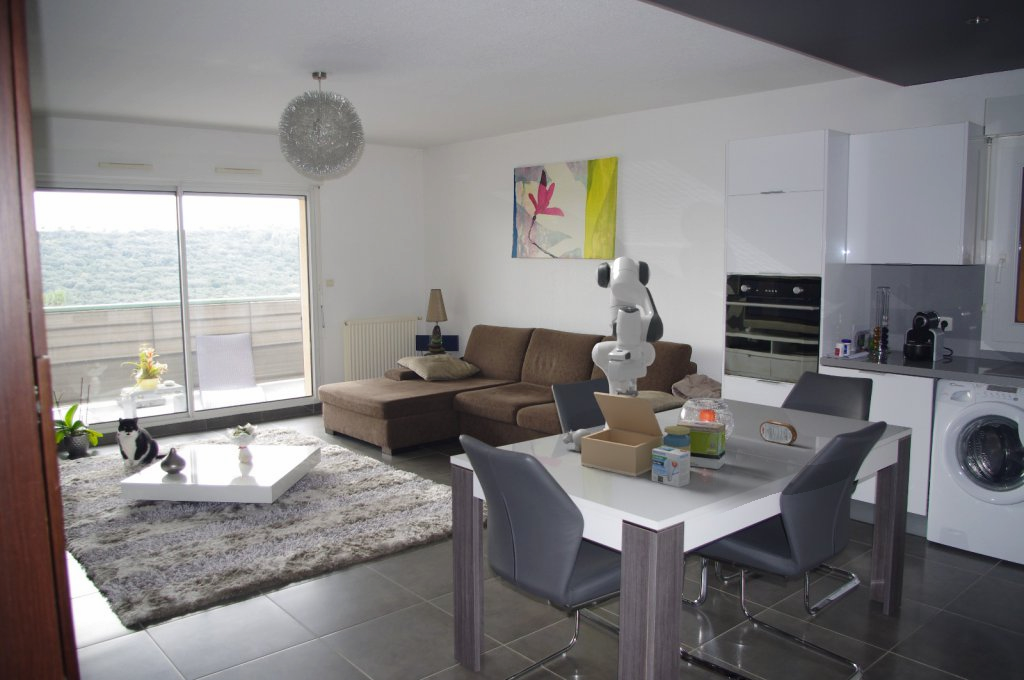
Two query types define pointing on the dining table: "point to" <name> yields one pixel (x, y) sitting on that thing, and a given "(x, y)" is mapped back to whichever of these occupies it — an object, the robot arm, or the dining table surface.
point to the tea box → (706, 443)
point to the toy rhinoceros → (575, 438)
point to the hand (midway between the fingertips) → (628, 391)
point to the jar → (677, 437)
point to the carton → (619, 451)
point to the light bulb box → (671, 466)
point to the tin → (778, 432)
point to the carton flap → (628, 412)
